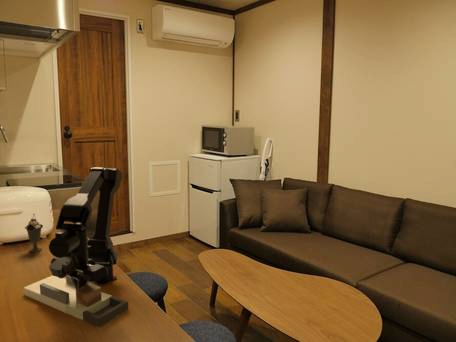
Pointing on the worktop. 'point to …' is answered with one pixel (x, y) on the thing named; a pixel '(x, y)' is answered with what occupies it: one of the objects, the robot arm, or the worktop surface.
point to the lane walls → (57, 291)
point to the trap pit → (106, 312)
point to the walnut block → (88, 295)
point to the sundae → (34, 233)
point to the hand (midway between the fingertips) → (80, 293)
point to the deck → (71, 307)
